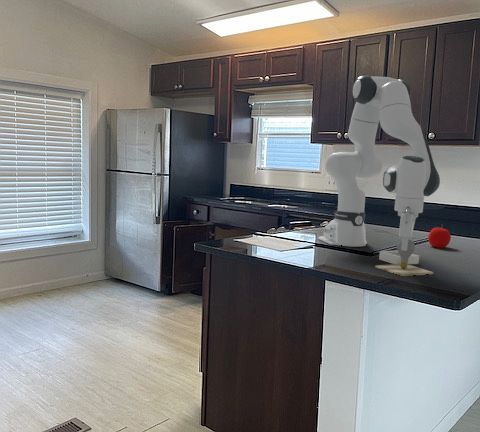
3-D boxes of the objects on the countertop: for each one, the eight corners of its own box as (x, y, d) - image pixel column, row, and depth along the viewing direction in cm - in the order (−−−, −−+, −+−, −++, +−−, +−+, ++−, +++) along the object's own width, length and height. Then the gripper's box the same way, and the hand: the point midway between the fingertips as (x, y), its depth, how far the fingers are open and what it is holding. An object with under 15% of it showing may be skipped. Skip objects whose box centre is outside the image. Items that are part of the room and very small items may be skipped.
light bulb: (415, 270, 157) (418, 240, 156) (399, 270, 156) (402, 239, 155) (407, 267, 162) (410, 238, 161) (392, 266, 162) (395, 237, 161)
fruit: (451, 250, 203) (454, 226, 201) (429, 248, 204) (431, 225, 203) (447, 246, 212) (449, 223, 210) (425, 244, 213) (427, 222, 212)
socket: (379, 259, 176) (379, 251, 176) (399, 258, 180) (400, 250, 180) (397, 265, 167) (398, 256, 167) (418, 263, 171) (419, 255, 171)
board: (375, 267, 163) (375, 265, 163) (405, 265, 168) (405, 263, 168) (402, 276, 151) (402, 274, 151) (433, 274, 156) (433, 272, 156)
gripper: (418, 210, 146) (413, 254, 148) (419, 204, 165) (415, 243, 167) (396, 208, 148) (392, 252, 150) (400, 202, 167) (396, 241, 169)
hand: (404, 247), depth 159 cm, fingers open, 8 cm apart
